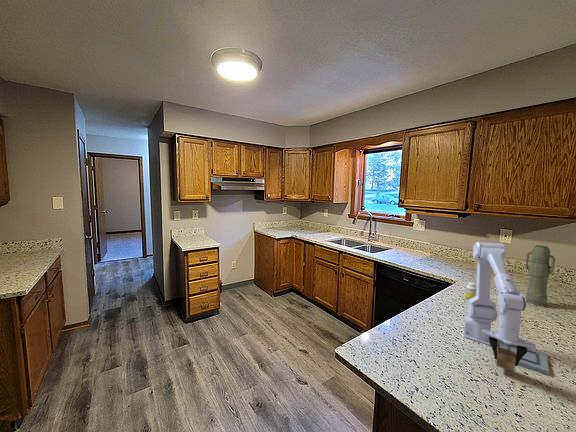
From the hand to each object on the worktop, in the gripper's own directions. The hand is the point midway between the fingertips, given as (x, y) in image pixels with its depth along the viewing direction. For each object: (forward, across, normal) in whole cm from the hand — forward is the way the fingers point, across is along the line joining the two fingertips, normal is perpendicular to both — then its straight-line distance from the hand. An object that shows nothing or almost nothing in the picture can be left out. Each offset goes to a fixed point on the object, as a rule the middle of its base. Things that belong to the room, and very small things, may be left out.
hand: (505, 361), depth 93 cm
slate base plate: (+4, +5, +15) cm, 16 cm away
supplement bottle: (+5, -17, +71) cm, 73 cm away
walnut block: (+2, 0, 0) cm, 2 cm away
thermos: (+5, +13, +90) cm, 91 cm away
